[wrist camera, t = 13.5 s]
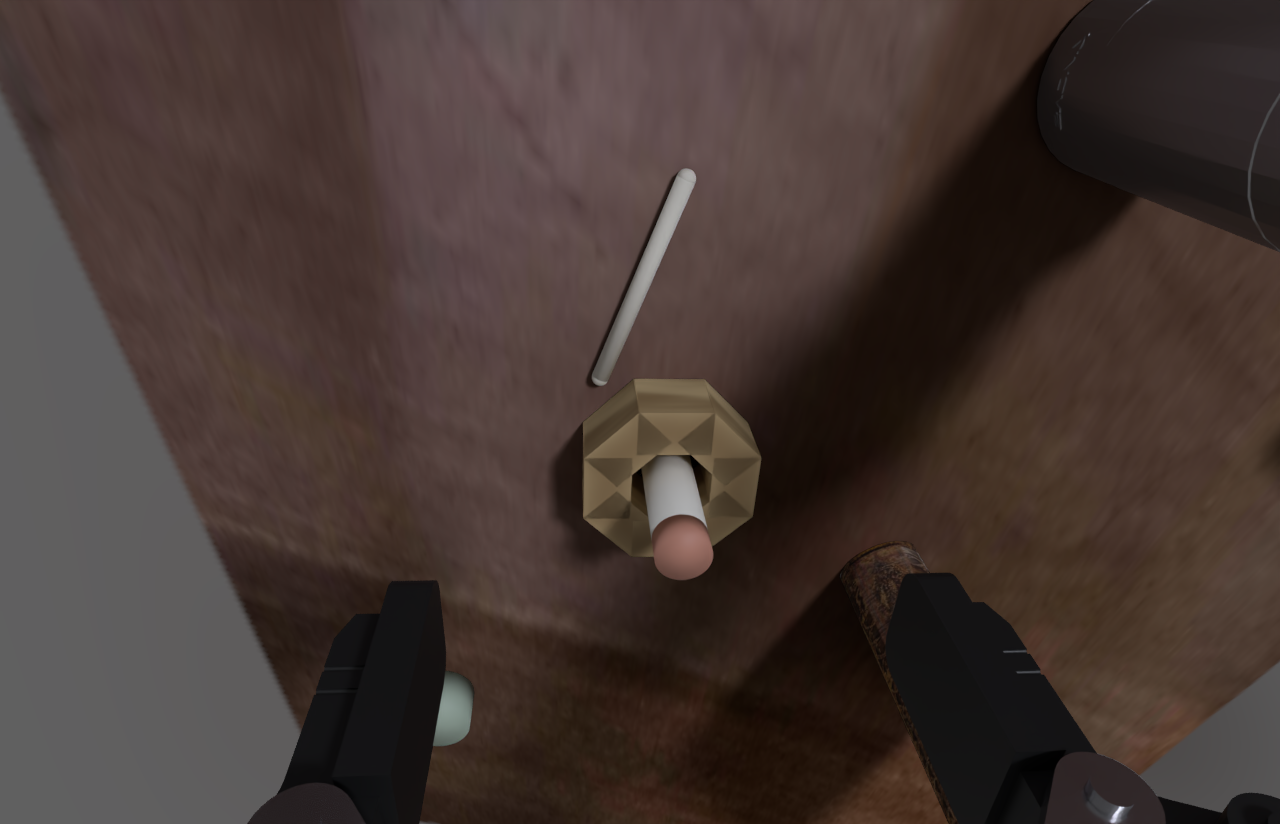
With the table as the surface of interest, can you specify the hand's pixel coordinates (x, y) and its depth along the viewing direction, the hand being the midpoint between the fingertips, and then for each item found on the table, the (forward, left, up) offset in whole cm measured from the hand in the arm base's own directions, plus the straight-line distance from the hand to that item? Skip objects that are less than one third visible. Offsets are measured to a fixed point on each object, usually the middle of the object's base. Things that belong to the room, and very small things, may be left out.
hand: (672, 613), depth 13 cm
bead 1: (+11, +37, -30) cm, 49 cm away
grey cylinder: (-4, +16, -30) cm, 34 cm away
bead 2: (-4, +16, -30) cm, 34 cm away
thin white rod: (-2, +5, -30) cm, 31 cm away
